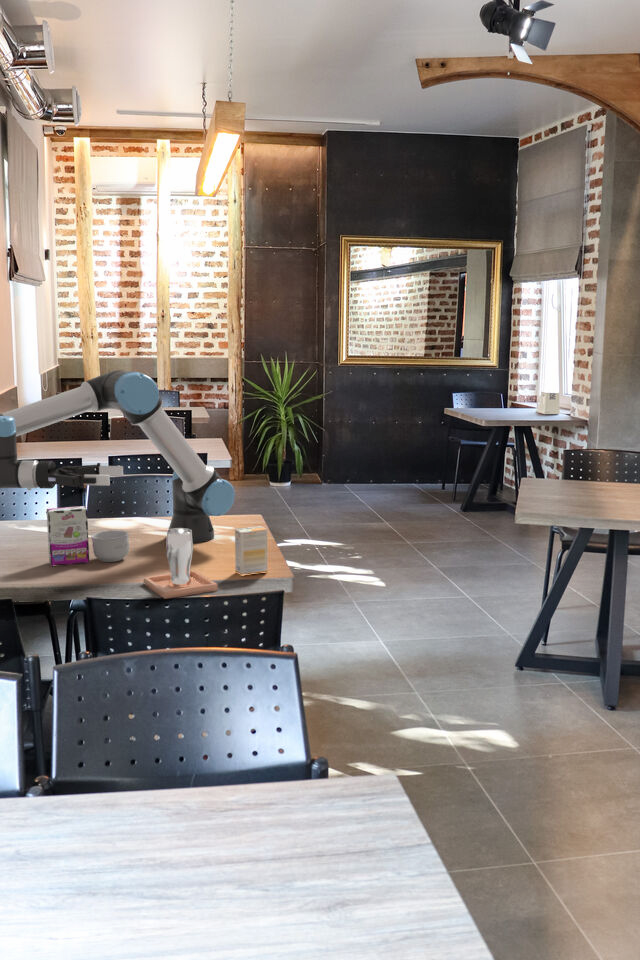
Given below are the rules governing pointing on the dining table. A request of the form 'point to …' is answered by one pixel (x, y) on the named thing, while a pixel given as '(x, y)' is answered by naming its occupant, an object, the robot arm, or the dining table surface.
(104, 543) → the teacup
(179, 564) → the steel tumbler
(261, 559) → the supplement box
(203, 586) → the tray
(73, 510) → the candy bar box
